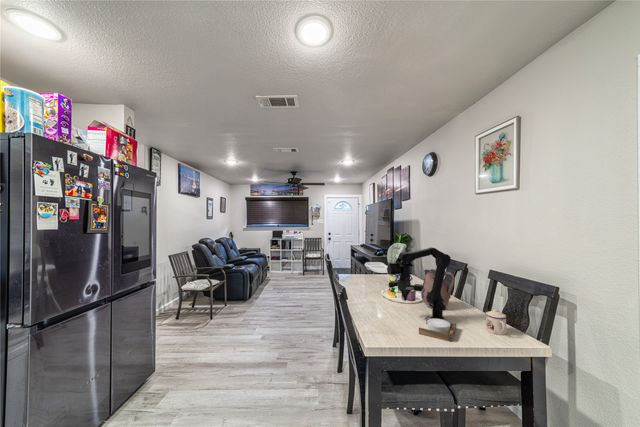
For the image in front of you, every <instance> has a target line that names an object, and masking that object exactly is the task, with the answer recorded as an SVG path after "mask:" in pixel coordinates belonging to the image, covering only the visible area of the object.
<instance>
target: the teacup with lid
mask: <svg viewBox="0 0 640 427" xmlns="http://www.w3.org/2000/svg"><path fill="white" fill-rule="evenodd" d="M485 315H486V316H485V317H486V318H485V319H486V321H485V322H486V330H487V332H488V333H489V334H490V333H491V334H493V335H499V336H504V335H507V315H506V314H504V313H503V312H501V311H499V310H498V309H497V308H494V309H493V310H491V311H486V312H485Z"/></svg>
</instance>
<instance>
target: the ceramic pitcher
mask: <svg viewBox="0 0 640 427" xmlns="http://www.w3.org/2000/svg"><path fill="white" fill-rule="evenodd" d="M423 272H424V279H423V283H422V286H423V290H422V291H420V296H421V301H422V302H423V304H424V305H425V306H426V307H428V308H430V309H432V307H431V306H430V305H429V303H428V302H427V298H426V297H427V292H430V291H431V290H432V287H433V282H434V278H435V273H436V268H432V269H424V270H423ZM446 275H450V277H451V283H450V286H449V287H448V286H447V284H446V281H445V276H446ZM455 278H456V277H455V275H454V274H453V273H452V272H450V271H445V274H444V278H443V283H442V288H441V296H442V303H443V304H444V305H445V306H446V307H447V306H448V304H449V301H450V299H451V291H452V289H453V287H454V285H455V281H456V280H455Z"/></svg>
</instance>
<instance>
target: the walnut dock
mask: <svg viewBox="0 0 640 427" xmlns="http://www.w3.org/2000/svg"><path fill="white" fill-rule="evenodd" d="M429 319H431V317H430V318H429V317H428V318H427V317H426V320H425V321H426V325H428V323H427V321H428V320H429ZM449 323H450V330H449V334H446V333H442V332H437V331H433V330H429V328H424V327H421V326H420V327H418V335H422V336H425V337H430V338H433V339H438V340H442V341H446V342H449V343H451V342H452V341H453V338H454V336H455V334H456V332H457V330H458V329H457V323H453V322H449Z"/></svg>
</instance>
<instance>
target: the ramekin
mask: <svg viewBox="0 0 640 427" xmlns="http://www.w3.org/2000/svg"><path fill="white" fill-rule="evenodd" d="M427 323H428V324H427V325H428V330H433V331H437V332H442V333H446V334H449V332H450V330H451V329H450V323H451V322H449V321H448V320H445V319H443V320H442V319H431V318H430V319H429V320H428V321H427Z"/></svg>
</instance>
